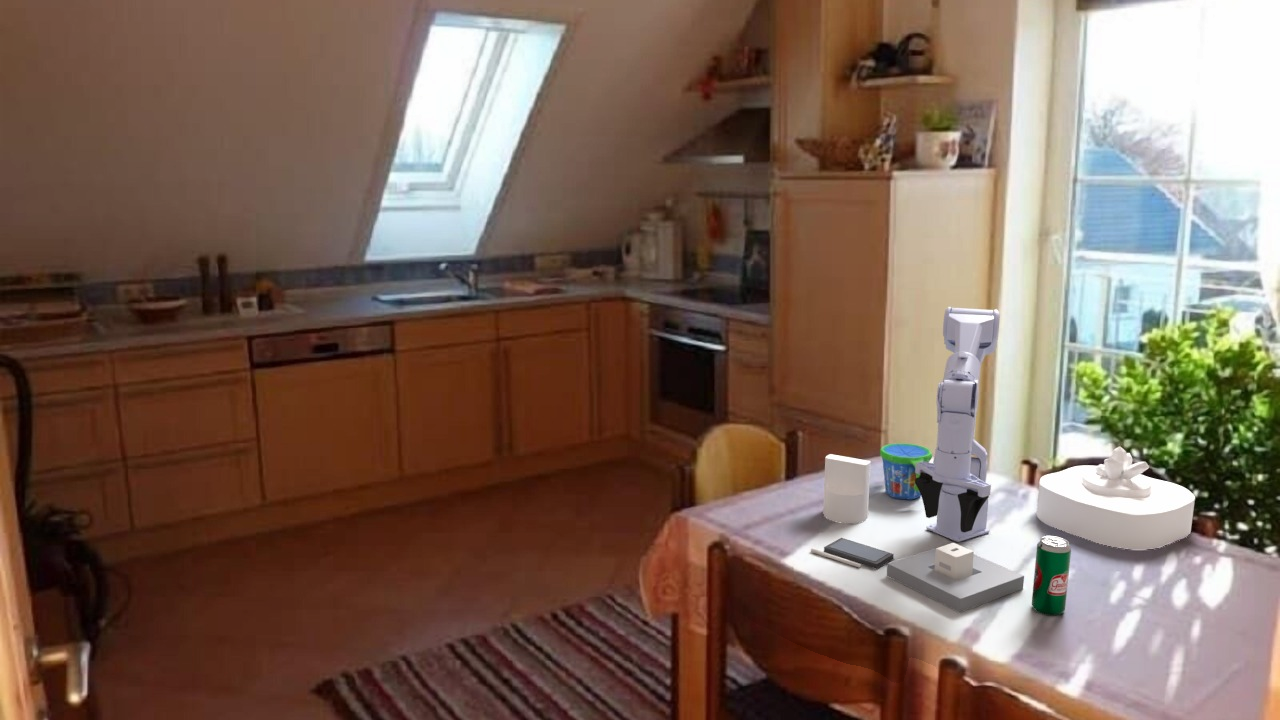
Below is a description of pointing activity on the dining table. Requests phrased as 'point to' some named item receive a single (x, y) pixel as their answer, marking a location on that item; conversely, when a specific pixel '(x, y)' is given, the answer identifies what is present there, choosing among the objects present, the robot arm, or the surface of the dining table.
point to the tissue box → (1115, 504)
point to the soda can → (1051, 575)
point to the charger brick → (954, 561)
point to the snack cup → (902, 468)
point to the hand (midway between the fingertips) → (948, 523)
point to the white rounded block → (846, 489)
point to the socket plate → (955, 594)
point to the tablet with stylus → (855, 554)
